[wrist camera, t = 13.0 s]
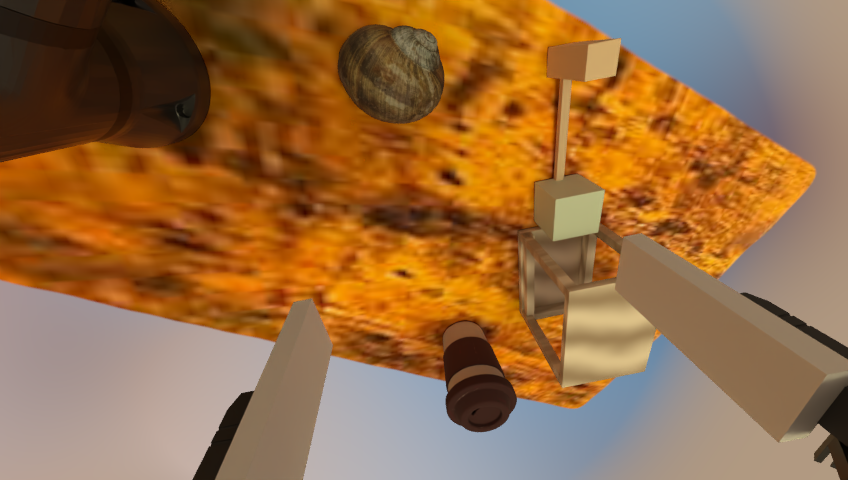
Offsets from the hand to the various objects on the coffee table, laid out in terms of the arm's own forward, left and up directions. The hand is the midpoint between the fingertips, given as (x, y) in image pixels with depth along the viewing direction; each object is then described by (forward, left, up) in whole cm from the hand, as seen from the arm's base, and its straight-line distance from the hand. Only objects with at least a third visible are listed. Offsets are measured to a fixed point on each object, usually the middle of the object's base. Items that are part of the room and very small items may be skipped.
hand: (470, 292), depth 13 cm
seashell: (-9, -1, -29) cm, 30 cm away
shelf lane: (+22, +18, -29) cm, 40 cm away
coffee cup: (+33, +2, -29) cm, 44 cm away
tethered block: (+2, +18, -29) cm, 34 cm away
